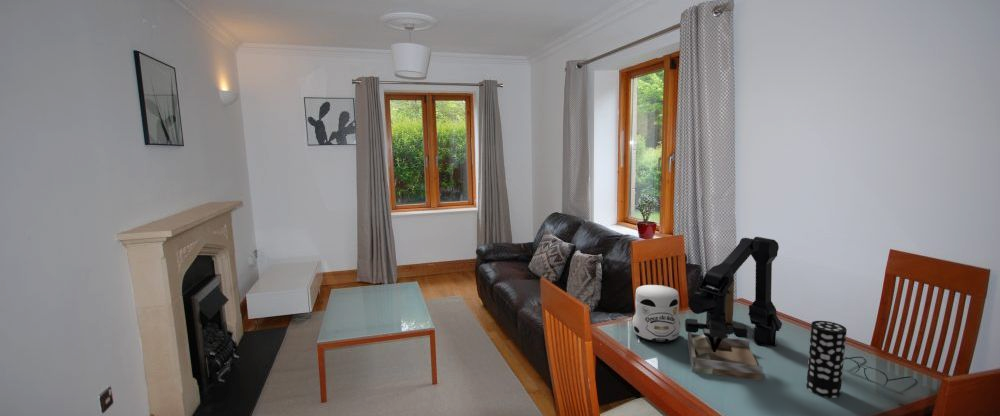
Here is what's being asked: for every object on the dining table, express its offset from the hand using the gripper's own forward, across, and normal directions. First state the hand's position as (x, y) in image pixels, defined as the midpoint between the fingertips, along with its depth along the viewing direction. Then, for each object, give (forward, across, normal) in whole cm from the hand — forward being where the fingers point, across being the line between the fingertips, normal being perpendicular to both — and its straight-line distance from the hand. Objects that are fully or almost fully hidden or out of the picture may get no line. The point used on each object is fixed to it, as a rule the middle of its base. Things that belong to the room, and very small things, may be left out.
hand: (713, 351), depth 154 cm
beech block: (0, -3, +1) cm, 3 cm away
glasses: (+4, +48, +5) cm, 48 cm away
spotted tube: (+3, +28, -11) cm, 31 cm away
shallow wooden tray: (+3, +2, 0) cm, 4 cm away
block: (+3, +8, +36) cm, 37 cm away
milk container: (+3, -18, +15) cm, 24 cm away
